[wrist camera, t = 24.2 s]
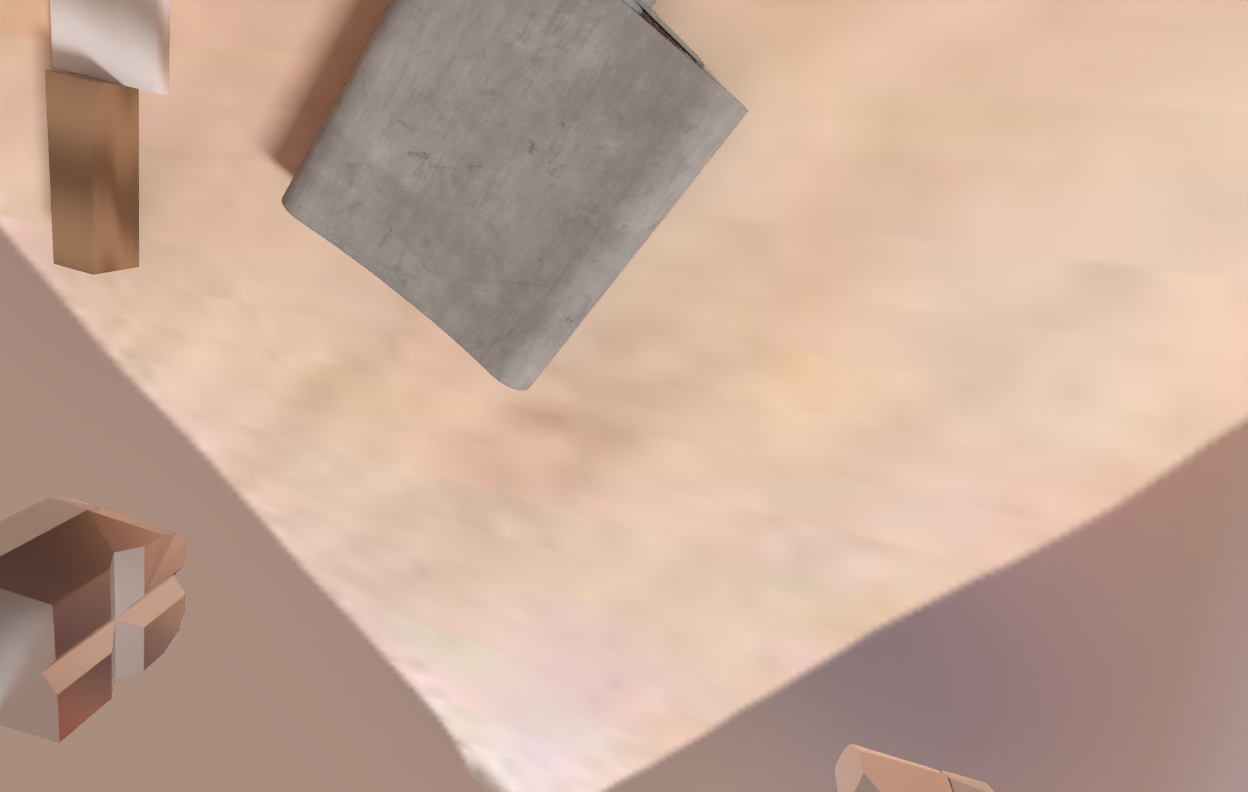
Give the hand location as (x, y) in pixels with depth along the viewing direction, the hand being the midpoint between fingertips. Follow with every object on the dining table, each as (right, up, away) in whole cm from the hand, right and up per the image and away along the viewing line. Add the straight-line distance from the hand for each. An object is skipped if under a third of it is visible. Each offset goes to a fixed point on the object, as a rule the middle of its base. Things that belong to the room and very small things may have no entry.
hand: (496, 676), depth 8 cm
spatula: (-26, +20, +31) cm, 45 cm away
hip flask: (-10, +9, +30) cm, 32 cm away
